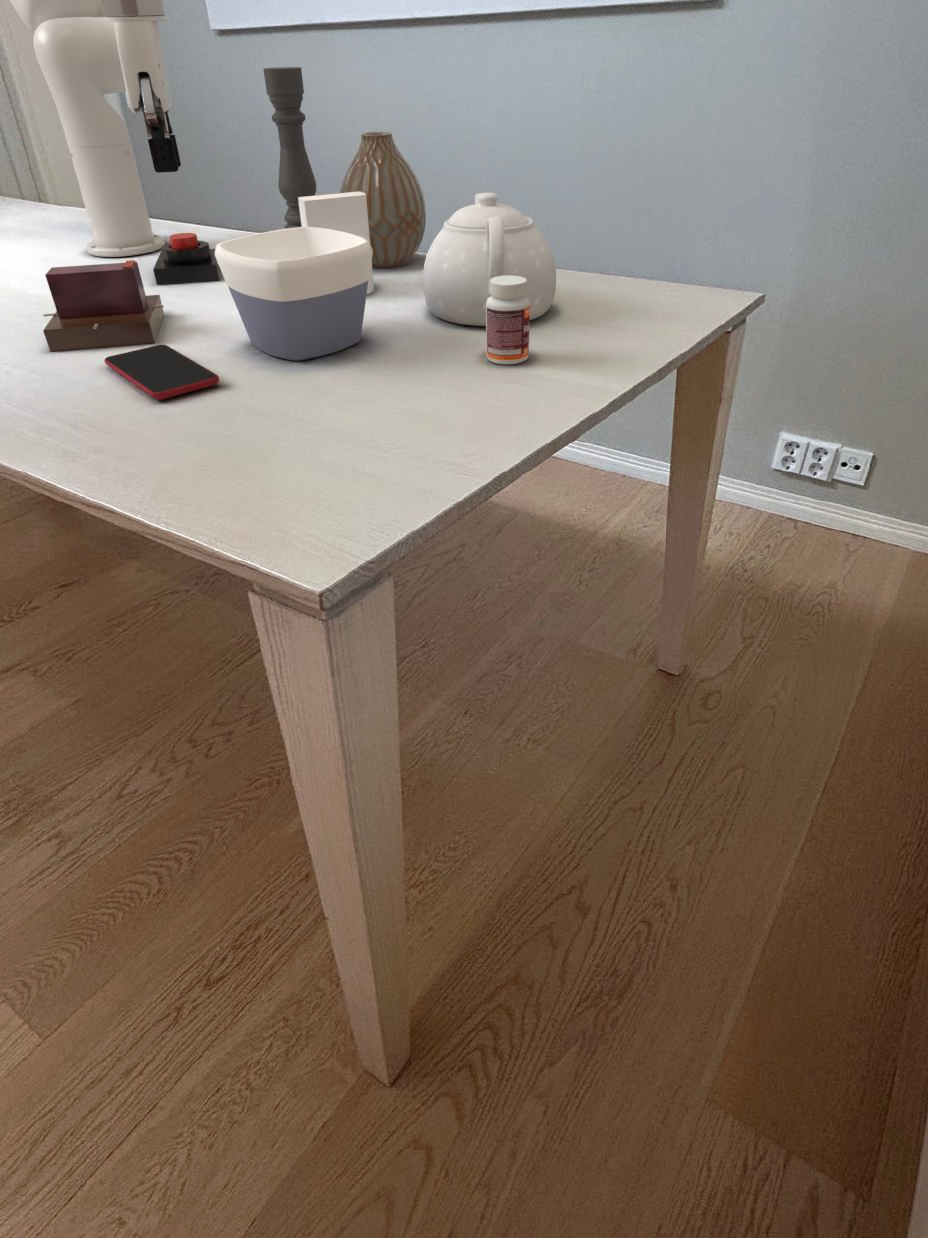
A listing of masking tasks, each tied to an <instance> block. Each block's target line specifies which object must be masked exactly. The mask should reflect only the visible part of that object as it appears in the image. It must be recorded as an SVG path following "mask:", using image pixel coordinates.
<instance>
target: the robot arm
mask: <svg viewBox="0 0 928 1238" xmlns="http://www.w3.org/2000/svg"><path fill="white" fill-rule="evenodd" d="M9 2H10V4H11V5H12V7H13V8H14V10H15V12H16V13H17V15H18V16H19V18H20V19H21V21H22V22H23V23H24V25H25V26H26V27H27V28H28V29H29V30H30V31H31V32H33V39H32V40H33V41H32V44H33V45H32V46H33V50H34V54H35V57H36V61H37V64H38V65H39V68H40V70H41V73H42V75H43V78H44V80H45V82H46V84H47V87H48V89H49V91H50V94H51V96H52V99H53V102H54V104H55V107H56V111H57V113H58V116H59V120H60V122H61V126H62V129H63V133H64V136H65V141H66V144H67V147H68V150H69V154H70V158H71V161H72V165H73V167H74V168H73V169H74V172H75V176H76V178H77V183H78V186H79V189H80V193H81V198H82V202H83V205H84V208H85V212H86V215H87V218H88V223H89V226H90V229H91V232H92V237H93V239H92V240H91V241H89V242H88V243H86V244H85V245H86V246H85V248H86V251H87V253H88V254H90V255H92V256H95V257H101V258H105V257H107V258H116V257H117V258H119V257H129V256H131V257H132V256H138V255H144V254H149V253H152V252H155V251H158V250H161V247H162V245H165V244H166V242H165V239H164V237H163V236H162V235H159V234H154V232H153V228H152V224H151V220H150V216H149V212H148V207H147V203H146V199H145V195H144V190H143V187H142V182H141V178H140V174H139V169H138V165H137V159H136V156H135V151H134V148H133V143H132V140H131V139H132V138H131V135H130V132H129V129H128V126H127V124H126V122H125V120H124V119H123V118H122V116H121V115H120V114H119V112H118V111H117V110H116V108H114V107H113V106H112V104H111V103H109V102H108V101H107V99H106V98H105V95H110V94H118V93H119V94H120V93H126V97H127V101H128V107H129V110H130V111H131V112H132V113H133V114H138V113H139V112H141V111H142V115H143V120H144V125H145V129H146V134H147V138H148V139H147V143H148V147H149V151H150V157H151V161H152V165H153V169H154V172H155V173H159V174H160V173H177V172H178V171H179V168H180V167H181V166H182V163H181V158H180V153H179V149H178V144H177V138H176V135H175V134H174V129H173V125H172V120H171V116H170V108H172V106H173V97H172V91H171V85H170V78H169V72H168V66H167V62H166V55H165V53H164V52H165V51H164V45H163V41H162V36H161V33H160V28H159V27H160V26H159V23H158V22H167V17H166V11H165V6H164V2H163V0H9Z"/></svg>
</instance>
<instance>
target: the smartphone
mask: <svg viewBox="0 0 928 1238" xmlns="http://www.w3.org/2000/svg"><path fill="white" fill-rule="evenodd" d="M103 360H104V361H103V362H104V364H105V365H106V366H107V367H109V368H111V369H112V370H113V371H115V372H116V373H118V374H119V375H120V376H122V377H123V378H125V379H126V380H128V382H130V383H132V384H133V385H135V386H136V387H138V388H139V389H140V390H142V391H143V392H145V393H146V394H147V395H149V396H150V397H151V398H154V399H155V400H158V401H159V400H161V401H163V400H166V399H169V398H173V397H177V396H180V395H183V394H188V393H190V392H191V393H192V392H194V391H198V390H202V389H205V388H208V387H213V386H215V385H217V384H218V383H219V381H220V376H219V375H218V374H217V373H215V372H213V371H212V370H210V369H208V368H206V367H205V366H203V365H202V364H199V363H198V362H196V361H194V360H192V359H191V358H189V357H188V356H186V355H184V354H182V353H181V352H179V351H177V350H176V349H174V348H172V347H170V346H168V345H167V344H156V345H153V346H148V347H143V348H140V349H136V350H131V351H126V352H121V353H118V354H114V355H110V356H106V357H105V358H104V359H103Z"/></svg>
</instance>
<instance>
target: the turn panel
mask: <svg viewBox="0 0 928 1238" xmlns="http://www.w3.org/2000/svg"><path fill="white" fill-rule="evenodd" d="M160 295H161V294H150V295H149V294H148V295H146V299H147V303H148V304H147V307H146V309H145V312H135V313H122V314H109V315H95V316H82V317H69V318H59V316H58V313H57V310H56V311H55V313H43V317H51V319H50V320H49V321H48V322H47V324H46V325H45V327H43V331H42V332H43V335H44V337H45V340H46V343H47V346H48V347H47V348H48V350H49V352H60V351H72V350H83V349H97V348H109V347H121V346H134V345H135V346H136V345H145V344H155V342H156V339H157V337H158V333H159V331H160V328H161V324H162V321H163V319H164V315H165V312H164V304H163V303H162V300H161V296H160Z"/></svg>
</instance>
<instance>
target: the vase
mask: <svg viewBox="0 0 928 1238" xmlns="http://www.w3.org/2000/svg"><path fill="white" fill-rule="evenodd" d="M360 137H361V139H360V144H359V147H358V150H357V152H356V154H355V155H354V157H353V159H352V161H351V163H350V165H349V167H348V168H347V171H346V173H345V175H344V178H343V180H342V183H341V187H340V192H339V193H348V192H363V193H365V194H366V200H367V212H368V224H369V236H370V246H371V248H372V250H373V253H372V268H382V269H385V268H386V269H387V268H396V267H400V266H401V267H402V266H404V265H406V264H408V262H410V260H411V259H412V257H413V256H414V255H415V254H416V253H417V251H418V250H419V248H420V246H421V244H422V241H423V238H424V234H425V231H426V223H427V222H426V221H427V218H426V217H427V213H426V211H427V210H426V201H425V197H424V194H423V193H424V192H423V190H422V187H421V185H420V182H419V179H418V178H417V176H416V174H415V172H414V170H413V168H412V167H411V166H410V164H409V163H408V161H407V160H406V159H405V157H404V156H403V155H402V153H401V152H400V150H399V149H398V147H397V145H396V143H395V140H394V137H393V133H392V132H390V131H368V132H364V133H361V135H360Z"/></svg>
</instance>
